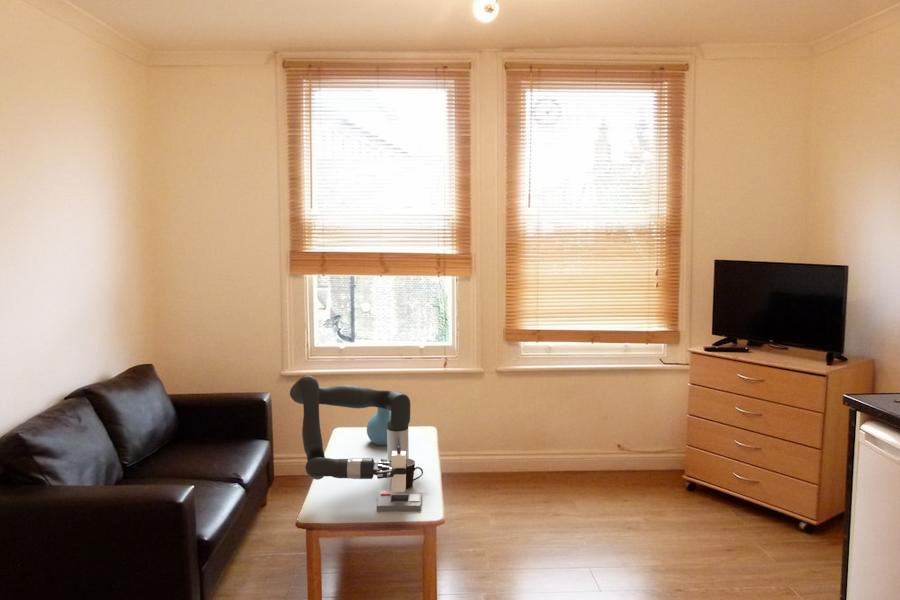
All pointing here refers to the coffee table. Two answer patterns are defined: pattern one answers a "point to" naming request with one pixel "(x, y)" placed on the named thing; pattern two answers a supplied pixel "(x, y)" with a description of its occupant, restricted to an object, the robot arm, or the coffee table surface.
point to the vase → (379, 426)
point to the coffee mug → (411, 473)
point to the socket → (399, 501)
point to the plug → (399, 462)
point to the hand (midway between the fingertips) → (406, 468)
